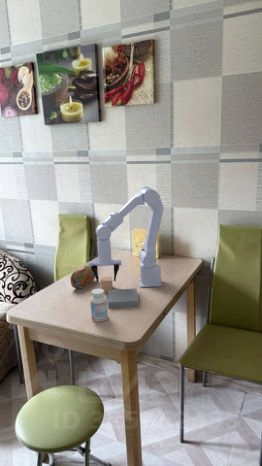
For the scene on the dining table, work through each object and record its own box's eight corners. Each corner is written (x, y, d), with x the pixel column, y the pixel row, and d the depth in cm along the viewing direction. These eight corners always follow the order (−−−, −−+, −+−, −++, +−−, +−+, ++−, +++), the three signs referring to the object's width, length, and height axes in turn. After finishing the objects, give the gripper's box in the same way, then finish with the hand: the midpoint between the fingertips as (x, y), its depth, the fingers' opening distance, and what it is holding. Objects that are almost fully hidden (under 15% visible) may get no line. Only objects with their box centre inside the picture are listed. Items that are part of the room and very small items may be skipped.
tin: (75, 291, 158) (73, 274, 156) (70, 290, 160) (68, 273, 158) (96, 280, 171) (95, 263, 168) (91, 279, 172) (90, 262, 170)
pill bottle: (92, 315, 136) (89, 288, 133) (107, 314, 137) (105, 287, 134) (91, 323, 131) (89, 295, 128) (108, 321, 131) (106, 293, 128)
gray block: (136, 294, 154) (136, 288, 153) (138, 307, 142) (138, 300, 141) (109, 296, 153) (108, 290, 152) (108, 309, 142) (107, 302, 141)
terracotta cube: (112, 286, 162) (112, 276, 161) (112, 291, 157) (111, 280, 156) (101, 287, 162) (101, 277, 161) (101, 291, 157) (100, 281, 156)
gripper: (120, 248, 159) (122, 276, 163) (88, 250, 159) (90, 278, 162) (121, 253, 153) (122, 282, 156) (87, 255, 152) (89, 284, 156)
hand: (106, 280), depth 159 cm, fingers open, 7 cm apart
